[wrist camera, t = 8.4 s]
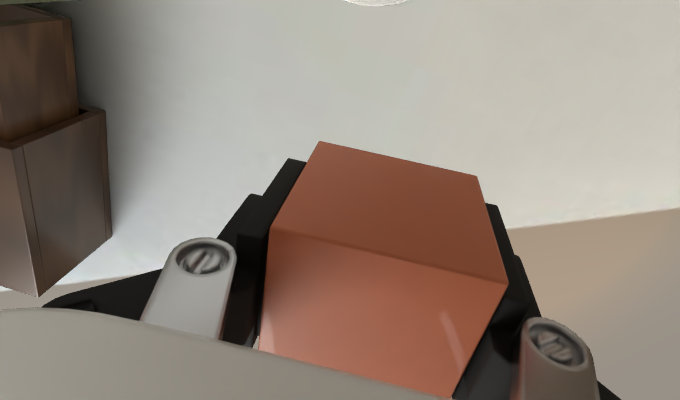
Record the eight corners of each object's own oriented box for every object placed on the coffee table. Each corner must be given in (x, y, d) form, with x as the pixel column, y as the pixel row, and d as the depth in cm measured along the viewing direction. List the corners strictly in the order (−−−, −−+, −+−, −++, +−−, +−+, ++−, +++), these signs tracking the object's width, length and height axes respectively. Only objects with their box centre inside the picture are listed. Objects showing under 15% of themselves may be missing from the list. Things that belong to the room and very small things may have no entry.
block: (477, 175, 11) (511, 283, 7) (431, 294, 13) (438, 425, 9) (318, 139, 11) (268, 225, 7) (300, 262, 13) (254, 377, 10)
